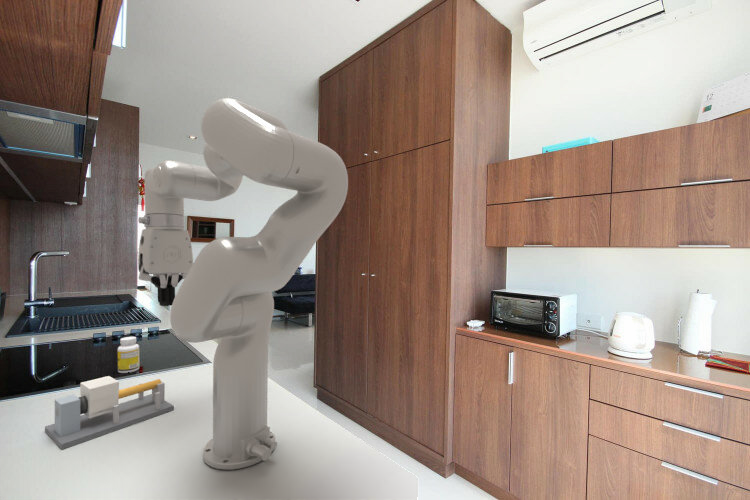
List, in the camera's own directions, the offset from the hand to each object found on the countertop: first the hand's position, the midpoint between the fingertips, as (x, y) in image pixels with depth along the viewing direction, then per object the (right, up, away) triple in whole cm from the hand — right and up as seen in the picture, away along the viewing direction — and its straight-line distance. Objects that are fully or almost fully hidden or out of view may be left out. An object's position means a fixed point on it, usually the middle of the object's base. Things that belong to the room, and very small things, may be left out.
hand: (166, 305), depth 80 cm
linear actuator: (-10, -25, -3) cm, 27 cm away
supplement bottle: (-28, -24, +28) cm, 46 cm away
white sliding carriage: (-11, -21, -5) cm, 25 cm away
